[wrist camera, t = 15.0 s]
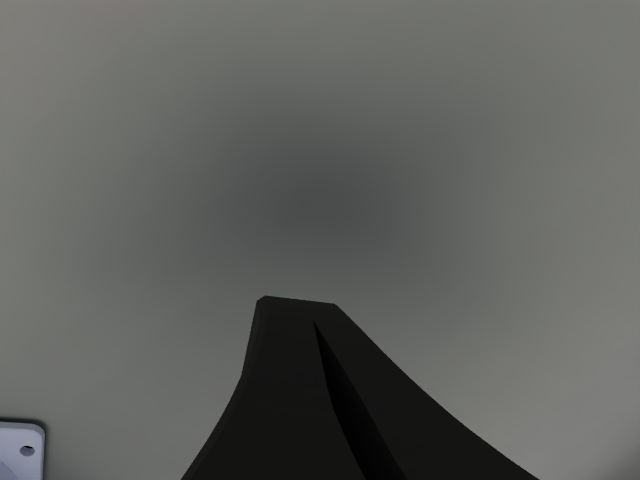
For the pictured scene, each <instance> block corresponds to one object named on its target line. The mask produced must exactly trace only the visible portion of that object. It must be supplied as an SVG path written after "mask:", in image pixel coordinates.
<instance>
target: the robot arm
mask: <svg viewBox="0 0 640 480" xmlns="http://www.w3.org/2000/svg"><path fill="white" fill-rule="evenodd" d="M44 440H45V434H44V430H43V429H42V428H41V427H39V426H38V425H35V424H28V423H11V422H0V480H43V461H44ZM25 446H31V447H32V448H31V449H30V448H26V447H25ZM181 480H539V479H538V478H536V477H534V476H533V475H531V474H530V473H529V472H527V471H526V470H524V469H523V468H521V467H520V466H518V465H517V464H515V463H514V462H513V461H511V460H510V459H508V458H507V457H506V456H504V455H503V454H502V453H500V452H499V451H497V450H496V449H495V448H493V447H492V446H491V445H489V444H488V443H487V442H485V441H484V440H483V439H481V438H480V437H479V436H477V435H476V434H475V433H473V432H472V431H471V430H469V429H468V428H467V427H466V426H464V425H463V424H462V423H461V422H460V421H458V420H457V419H456V418H455V417H453V416H452V415H451V414H450V413H449V412H448V411H446V410H445V409H444V408H443V407H442V406H441V405H439V404H438V403H437V402H436V401H435V400H434V399H433V398H431V397H430V396H429V395H428V394H427V393H426V392H425V391H423V390H422V389H421V388H420V387H419V386H418V385H417V384H416V383H415V382H414V381H413V380H412V379H410V378H409V377H408V376H407V375H406V374H405V373H404V372H403V371H402V370H401V369H400V368H399V367H398V366H397V365H396V364H395V363H394V362H393V361H392V360H391V359H390V358H389V357H388V356H387V355H386V354H385V353H384V352H383V351H382V350H381V349H380V348H379V347H378V346H377V345H376V344H375V343H374V342H373V341H372V340H371V339H370V338H369V337H368V336H367V335H366V334H365V333H364V332H363V331H362V330H361V329H360V328H359V327H358V326H357V325H356V324H355V323H354V322H353V321H352V320H351V319H350V318H349V317H348V316H347V315H346V314H345V313H344V312H343V311H342V310H341V309H340V308H339V307H338V306H337V305H335V304H332V303H323V302H315V301H306V300H298V299H289V298H281V297H272V296H264V297H262V298H260V299H259V300H257V303H256V308H255V313H254V317H253V322H252V327H251V332H250V337H249V341H248V346H247V351H246V356H245V361H244V365H243V370H242V375H241V378H240V380H239V382H238V384H237V386H236V389H235V391H234V393H233V395H232V397H231V399H230V401H229V403H228V405H227V407H226V409H225V411H224V412H223V414H222V416H221V418H220V420H219V421H218V423H217V425H216V426H215V428H214V430H213V432H212V433H211V435H210V437H209V438H208V440H207V441H206V443H205V444H204V446H203V447H202V449H201V450H200V452H199V453H198V455H197V456H196V458H195V459H194V461H193V462H192V464H191V465H190V467H189V468H188V470H187V471H186V473H185V474H184V476H183V477H182V478H181Z"/></svg>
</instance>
